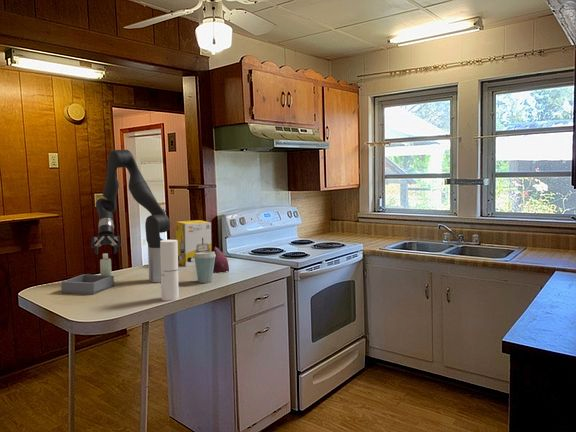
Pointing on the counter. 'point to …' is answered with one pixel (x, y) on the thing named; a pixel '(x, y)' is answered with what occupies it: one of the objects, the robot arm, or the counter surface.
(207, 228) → the packaging box
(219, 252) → the vegetable
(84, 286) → the bin
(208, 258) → the disposable coffee cup
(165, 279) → the cylindrical container
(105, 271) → the cruet
